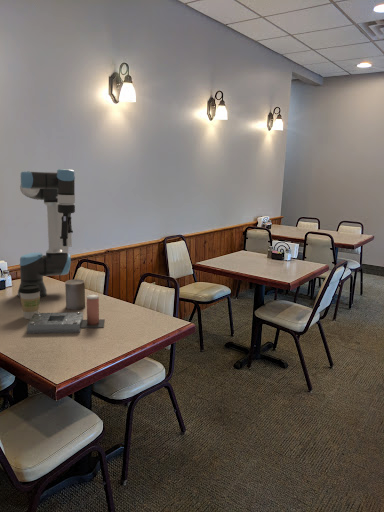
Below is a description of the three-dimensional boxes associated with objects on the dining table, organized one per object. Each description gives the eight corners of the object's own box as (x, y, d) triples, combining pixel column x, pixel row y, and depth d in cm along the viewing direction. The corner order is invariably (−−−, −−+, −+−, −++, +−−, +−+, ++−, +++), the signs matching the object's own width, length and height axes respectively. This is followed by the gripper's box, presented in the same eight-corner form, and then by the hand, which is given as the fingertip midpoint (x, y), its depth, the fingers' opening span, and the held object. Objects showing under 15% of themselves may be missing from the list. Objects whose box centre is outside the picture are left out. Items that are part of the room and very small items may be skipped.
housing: (34, 321, 191) (34, 311, 190) (83, 320, 195) (83, 311, 194) (27, 333, 177) (26, 323, 176) (79, 332, 180) (79, 322, 179)
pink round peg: (87, 321, 193) (87, 294, 190) (99, 320, 194) (99, 294, 191) (86, 325, 188) (86, 298, 185) (98, 325, 188) (98, 298, 186)
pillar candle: (84, 303, 219) (83, 276, 216) (85, 309, 210) (85, 281, 207) (65, 304, 216) (64, 277, 213) (66, 310, 207) (65, 282, 204)
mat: (83, 320, 195) (83, 319, 195) (104, 320, 196) (104, 319, 196) (80, 328, 185) (80, 327, 185) (103, 327, 187) (103, 327, 187)
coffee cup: (34, 321, 191) (33, 290, 188) (15, 319, 193) (14, 288, 190) (45, 314, 200) (44, 285, 197) (27, 312, 202) (26, 283, 199)
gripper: (61, 200, 198) (62, 243, 202) (53, 206, 174) (54, 255, 178) (77, 201, 199) (77, 244, 204) (71, 207, 175) (72, 255, 180)
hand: (66, 249), depth 191 cm, fingers open, 13 cm apart
